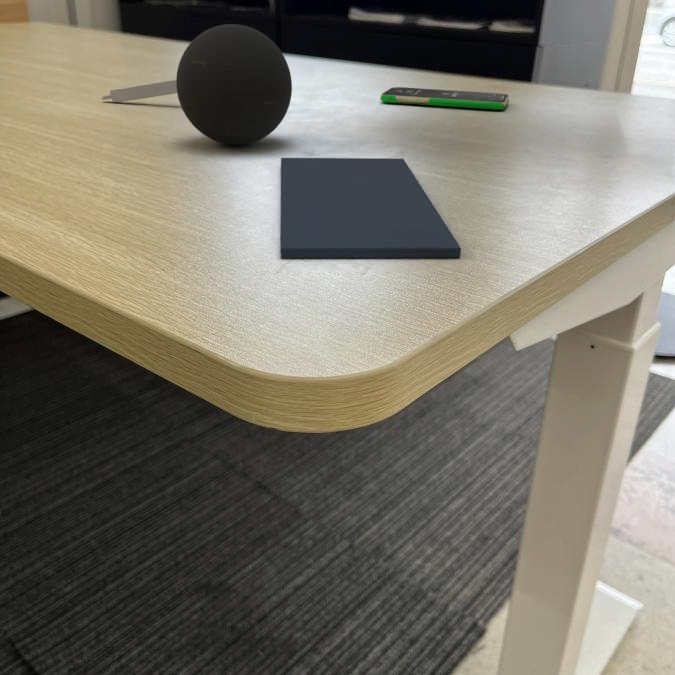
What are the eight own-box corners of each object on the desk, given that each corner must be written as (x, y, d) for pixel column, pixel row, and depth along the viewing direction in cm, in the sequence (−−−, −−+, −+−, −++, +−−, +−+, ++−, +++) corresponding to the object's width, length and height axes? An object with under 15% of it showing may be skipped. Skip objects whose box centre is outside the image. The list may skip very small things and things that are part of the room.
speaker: (292, 133, 72) (292, 21, 68) (291, 157, 63) (290, 29, 59) (188, 132, 72) (181, 19, 67) (172, 155, 63) (162, 27, 58)
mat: (403, 165, 61) (403, 158, 61) (460, 258, 42) (461, 247, 41) (281, 165, 61) (281, 157, 60) (280, 258, 41) (280, 248, 41)
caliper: (270, 112, 83) (270, 52, 80) (267, 113, 82) (266, 53, 79) (106, 100, 88) (100, 43, 85) (101, 102, 87) (94, 44, 84)
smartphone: (505, 102, 86) (378, 94, 90) (504, 111, 86) (378, 102, 90) (510, 93, 92) (392, 86, 96) (509, 101, 93) (391, 93, 97)
